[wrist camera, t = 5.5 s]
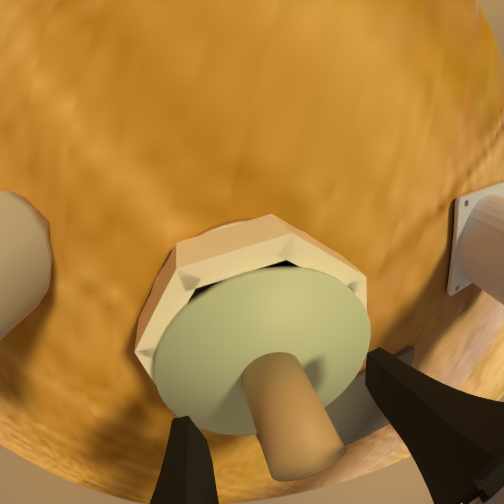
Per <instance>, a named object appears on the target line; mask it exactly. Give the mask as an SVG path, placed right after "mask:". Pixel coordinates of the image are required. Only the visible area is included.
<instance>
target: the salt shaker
mask: <svg viewBox="0 0 504 504" xmlns="http://www.w3.org/2000/svg"><path fill="white" fill-rule="evenodd" d="M52 259H53V256H52V250H51V244H50V233H49V221H48V220H47V219H46V218H45V217H44V216H43V215H42V214H41V213H40V212H39V211H38V210H37V209H36V208H35V207H34V206H33V205H32V204H31V203H30V202H29V201H28V200H27V199H26V198H25V197H24V196H21V195H18V194H15V193H13V192H10V191H0V341H1V340H2V339H3V338H4V337H5V336H6V335H7V334H8V333H9V332H10V331H11V330H12V329H13V328H14V327H16V326H17V325H18V324H19V323H20V322H21V321H22V320H23V319H24V318H26V317H27V316H28V315H29V314H30V313H31V312H32V311H34V310H35V309H36V308H37V306H38V305H39V303H40V302H41V300H42V299H43V297H44V296H45V294H46V293H47V291H48V289H49V286H50V284H51V270H52Z"/></svg>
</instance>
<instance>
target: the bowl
mask: <svg viewBox="0 0 504 504" xmlns="http://www.w3.org/2000/svg"><path fill="white" fill-rule="evenodd" d="M278 266H295V267H304V268H310V269H315V270H318V271H321V272H324V273H327V274H329V275H331V276H333V277H335V278H337V279H338V280H340V281H341V282H342V283H344V284H345V285H346V286H347V287H348V288H349V289H350V290H351V291H352V292H353V293H354V294H355V295H356V296H357V297H358V298H359V299H360V300H361V302H362V304H363V305H364V307H365V309H366V311H367V285H366V276H365V275H364V274H363V273H361V272H360V271H359V270H358V269H357V268H356V267H354V266H353V265H352V264H351V263H350V262H348V261H347V260H346V259H345V258H344V257H342V256H341V255H340V254H338V253H337V252H335V251H334V250H332V249H330V248H329V247H327V246H325V245H324V244H322V243H320V242H319V241H317V240H315V239H314V238H312V237H311V236H310V235H308V234H307V233H305V232H304V231H302V230H300V229H298V228H296V227H294V226H292V225H290V224H288V223H287V222H285V221H283V220H281V219H280V218H278V217H276V216H275V215H273V214H270V215H266V216H263V217H259V218H256V219H246V220H237V221H232V222H228V223H224V224H221V225H218V226H215V227H213V228H210V229H208V230H206V231H204V232H202V233H200V234H198V235H196V236H194V237H193V238H190V239H187V240H183V241H180V242H177V243H176V244H175V246H174V248H173V250H172V252H171V254H170V256H169V258H168V260H167V262H166V263H165V264H164V265H163V267H162V269H161V270H160V272H159V274H158V275H157V277H156V279H155V282H154V284H153V287H152V290H151V294H150V296H149V298H148V300H147V302H146V304H145V306H144V308H143V310H142V313H141V315H140V317H139V321H138V328H137V336H136V344H135V354H136V355H137V357H138V359H139V360H140V362H141V363H142V365H143V366H144V368H145V370H146V371H147V373H148V374H149V376H150V377H151V379H152V380H153V382H154V383H155V385H156V382H155V357H156V350H157V347H158V344H159V340H160V338H161V336H162V334H163V332H164V330H165V328H166V327H167V325H168V324H169V323H170V321H171V320H172V318H173V317H174V316H175V315H176V314H177V313H178V312H179V311H180V309H181V308H182V307H183V306H184V305H185V304H187V303H188V302H189V301H190V300H192V299H193V298H194V297H195V296H197V295H198V294H199V293H201V292H203V291H204V290H206V289H208V288H209V287H211V286H213V285H214V284H217V283H219V282H221V281H223V280H225V279H227V278H229V277H232V276H235V275H238V274H241V273H244V272H247V271H252V270H257V269H261V268H267V267H278Z"/></svg>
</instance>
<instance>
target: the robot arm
mask: <svg viewBox="0 0 504 504" xmlns="http://www.w3.org/2000/svg"><path fill="white" fill-rule="evenodd" d="M471 283H473V284H475V285H476V286H478V287H479V288H480V289H482V290H483V291H485V292H486V293H488V294H489V295H491V296H492V297H493V298H495V299H496V300H498V301H499V302H500V303H502V304H503V305H504V181H503V182H500V183H497V184H494V185H491V186H489V187H486V188H483V189H480V190H477V191H474V192H471V193H468V194H465V195H462V196H459V197H458V198H457V199H456V201H455V212H454V231H453V244H452V254H451V263H450V271H449V279H448V286H447V294H449V295H450V296H452V295H454V294H455V293H457V292H459V291H460V290H462V289H464V288H465V287H467V286H468V285H470V284H471ZM365 385H366V387H367V389H368V391H369V393H370V394H371V396H372V398H373V400H374V401H375V403H376V405H377V406H378V407H379V409H380V410H381V411H382V413H383V414H384V416H385V417H386V418H387V420H388V421H389V422H390V424H391V425H392V426H393V428H394V429H395V430H396V432H397V433H398V434H399V436H400V437H401V438H402V440H403V441H404V443H405V444H406V446H407V448H408V450H409V451H410V453H411V455H412V457H413V458H414V460H415V462H416V464H417V466H418V468H419V470H420V472H421V474H422V476H423V478H424V481H425V483H426V485H427V487H428V489H429V492H430V494H431V497H432V499H433V502H434V504H460V503H463V504H504V402H499V401H494V400H490V399H486V398H482V397H478V396H474V395H471V394H468V393H465V392H462V391H460V390H457V389H454V388H452V387H450V386H447V385H445V384H443V383H441V382H439V381H437V380H435V379H433V378H431V377H429V376H427V375H425V374H423V373H422V372H420V371H418V370H416V369H414V368H413V367H411V366H409V365H408V364H406V363H404V362H403V361H401V360H400V359H398V358H396V357H395V356H393V355H392V354H390V353H388V352H387V351H385V350H384V349H382V348H380V347H379V348H377V349H375V350H373V351H371V352H369V353H367V360H366V375H365ZM150 504H219V502H218V496H217V490H216V483H215V476H214V470H213V463H212V459H211V455H210V451H209V447H208V444H207V440H206V438H205V437H204V436H203V434H202V433H201V432H200V431H199V429H198V428H197V426H196V425H195V424H194V422H193V421H192V420H191V418H190V417H189V415H188V416H183V417H179V418H174V419H173V420H172V424H171V430H170V435H169V440H168V444H167V449H166V453H165V457H164V461H163V464H162V468H161V472H160V475H159V478H158V481H157V484H156V487H155V490H154V493H153V496H152V499H151V501H150Z"/></svg>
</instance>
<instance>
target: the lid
mask: <svg viewBox="0 0 504 504" xmlns="http://www.w3.org/2000/svg"><path fill="white" fill-rule="evenodd" d="M370 338H371V327H370V321H369V317H368V314H367V311H366V309H365V307H364V305H363V304H362V302H361V300H360V299H359V298H358V297H357V296H356V295H355V294H354V293H353V292H352V291H351V290H350V289H349V288H348V287H347V286H346V285H345V284H344V283H342V282H341V281H340V280H338V279H337V278H335V277H333V276H331V275H329V274H327V273H324V272H321V271H318V270H315V269H310V268H304V267H295V266H278V267H267V268H261V269H257V270H252V271H247V272H244V273H241V274H238V275H235V276H232V277H229V278H227V279H225V280H223V281H221V282H219V283H217V284H214V285H213V286H211V287H209V288H208V289H206V290H204V291H203V292H201V293H199V294H198V295H197V296H195V297H194V298H193V299H192V300H190V301H189V302H188V303H187V304H185V305H184V306H183V307H182V308H181V309H180V311H179V312H178V313H177V314H176V315H175V316H174V317H173V318H172V320H171V321H170V323H169V324H168V325H167V327H166V328H165V330H164V332H163V334H162V336H161V338H160V340H159V344H158V347H157V350H156V357H155V382H156V386H157V389H158V392H159V394H160V396H161V398H162V400H163V402H164V403H165V404H166V406H167V407H168V408H169V409H170V410H171V411H172V412H173V413H174V414H175V415H176V416H177V417H183V416H188V415H189V417H190V418H191V420H192V421H193V422H194V424H195V425H196V426H197V428H199V429H202V430H205V431H209V432H213V433H218V434H225V435H252V434H258V437H259V441H260V444H261V447H262V450H263V453H264V456H265V459H266V462H267V465H268V468H269V471H270V474H271V476H272V478H273V479H274V480H277V481H294V480H299V479H303V478H307V477H310V476H313V475H315V474H317V473H320V472H322V471H324V470H326V469H327V468H329V467H331V466H332V465H334V464H335V463H336V462H337V461H339V460H340V459H341V458H342V456H343V455H344V453H345V451H346V448H345V446H344V444H343V442H342V440H341V438H340V437H339V435H338V433H337V431H336V429H335V427H334V426H333V424H332V422H331V420H330V418H329V416H328V414H327V413H326V411H325V409H324V408H325V407H326V406H327V405H328V404H330V403H331V402H332V401H334V400H335V399H336V398H337V397H338V396H339V395H340V394H341V393H342V392H343V391H344V390H345V389H346V388H347V387H348V386H349V384H350V383H351V382H352V381H353V379H354V378H355V377H356V375H357V373H358V372H359V370H360V368H361V367H362V365H363V362H364V360H365V358H366V355H367V352H368V349H369V344H370Z"/></svg>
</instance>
